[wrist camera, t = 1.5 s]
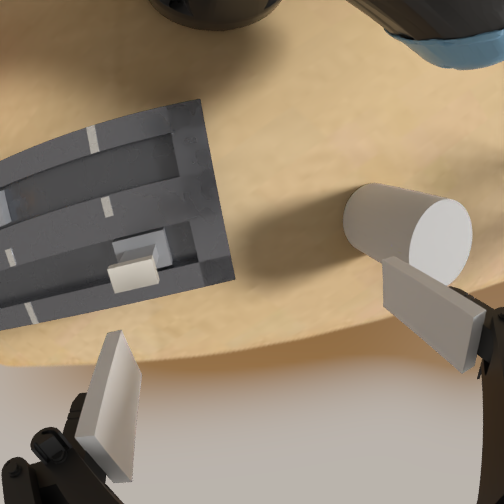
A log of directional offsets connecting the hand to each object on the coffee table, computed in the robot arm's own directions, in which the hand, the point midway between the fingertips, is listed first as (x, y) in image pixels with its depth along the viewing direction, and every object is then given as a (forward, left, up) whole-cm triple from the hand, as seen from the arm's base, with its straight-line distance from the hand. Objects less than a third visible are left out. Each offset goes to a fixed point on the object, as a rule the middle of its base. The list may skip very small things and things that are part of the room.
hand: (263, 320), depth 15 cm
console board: (-4, -16, -19) cm, 25 cm away
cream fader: (0, -8, -17) cm, 19 cm away
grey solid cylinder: (+2, +17, -19) cm, 26 cm away
